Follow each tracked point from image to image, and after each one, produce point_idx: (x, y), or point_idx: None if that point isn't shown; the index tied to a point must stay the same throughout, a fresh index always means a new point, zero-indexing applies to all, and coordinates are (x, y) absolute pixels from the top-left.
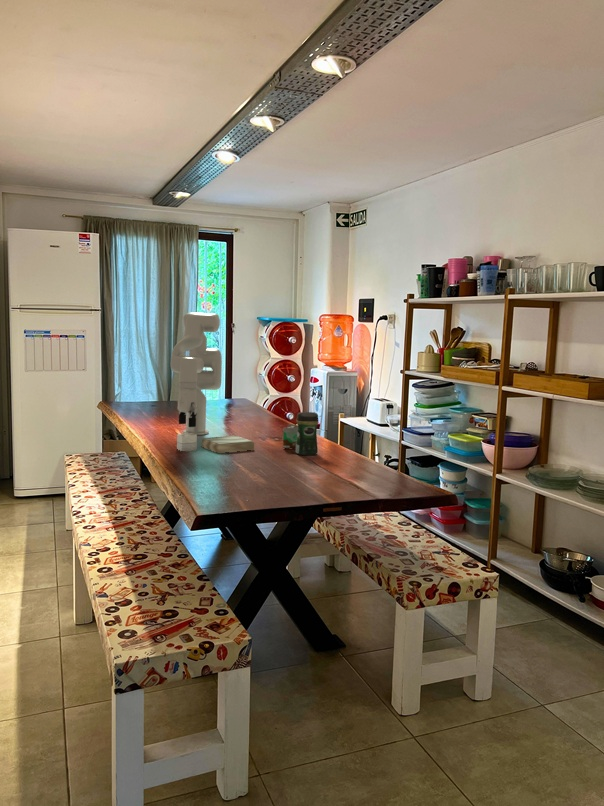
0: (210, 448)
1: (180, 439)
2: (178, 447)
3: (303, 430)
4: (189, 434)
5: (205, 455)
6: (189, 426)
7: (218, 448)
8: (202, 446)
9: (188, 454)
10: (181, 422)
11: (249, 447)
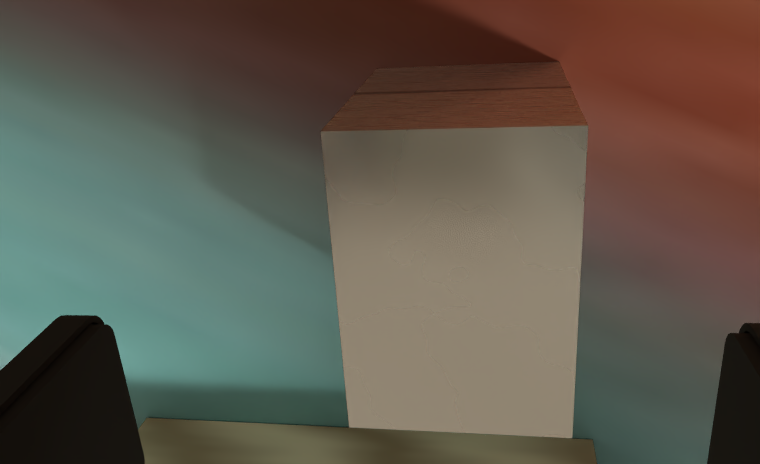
0: (328, 442)
1: (414, 107)
2: (502, 72)
3: None
4: (426, 329)
5: (74, 252)
6: (63, 327)
7: None
8: (557, 444)
9: (174, 82)
10: (734, 404)
11: None
